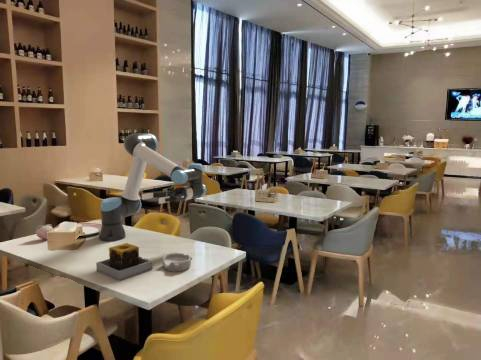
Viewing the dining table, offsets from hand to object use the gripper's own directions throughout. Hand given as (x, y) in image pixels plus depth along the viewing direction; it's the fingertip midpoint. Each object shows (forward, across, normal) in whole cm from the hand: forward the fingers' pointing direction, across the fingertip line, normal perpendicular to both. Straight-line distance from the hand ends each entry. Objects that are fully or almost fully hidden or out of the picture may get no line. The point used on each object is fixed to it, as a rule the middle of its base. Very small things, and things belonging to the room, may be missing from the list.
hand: (150, 198), depth 198 cm
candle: (+20, -6, -29) cm, 36 cm away
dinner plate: (0, +69, -32) cm, 76 cm away
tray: (+20, -6, -30) cm, 37 cm away
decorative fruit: (+22, +70, -32) cm, 80 cm away
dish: (0, -21, -30) cm, 37 cm away
